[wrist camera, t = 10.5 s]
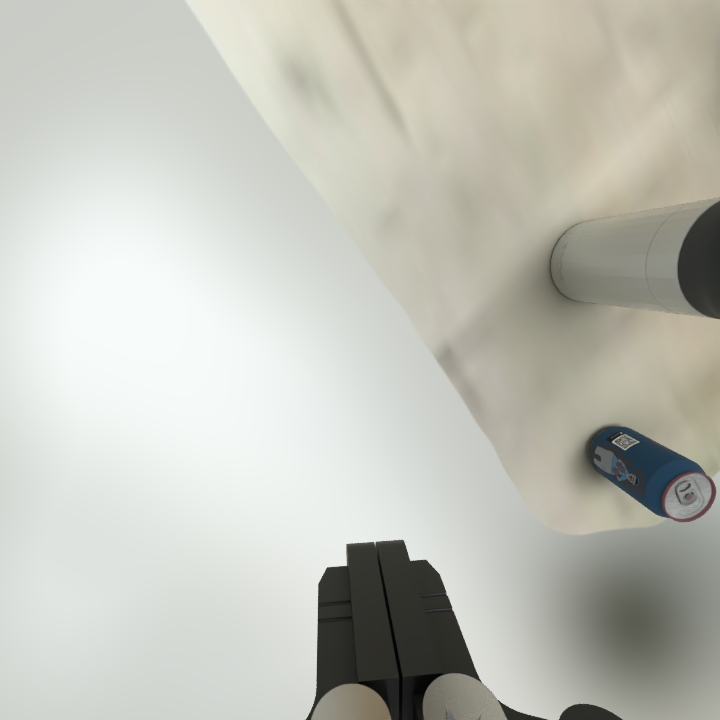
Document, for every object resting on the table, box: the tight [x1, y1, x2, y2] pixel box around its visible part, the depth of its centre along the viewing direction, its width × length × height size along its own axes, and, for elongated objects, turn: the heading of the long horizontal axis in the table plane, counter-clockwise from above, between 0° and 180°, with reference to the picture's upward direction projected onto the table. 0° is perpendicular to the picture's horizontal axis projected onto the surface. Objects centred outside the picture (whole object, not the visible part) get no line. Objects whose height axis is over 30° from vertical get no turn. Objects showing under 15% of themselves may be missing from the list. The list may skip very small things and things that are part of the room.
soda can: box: [590, 427, 716, 522], centre depth 47 cm, size 7×7×12 cm
